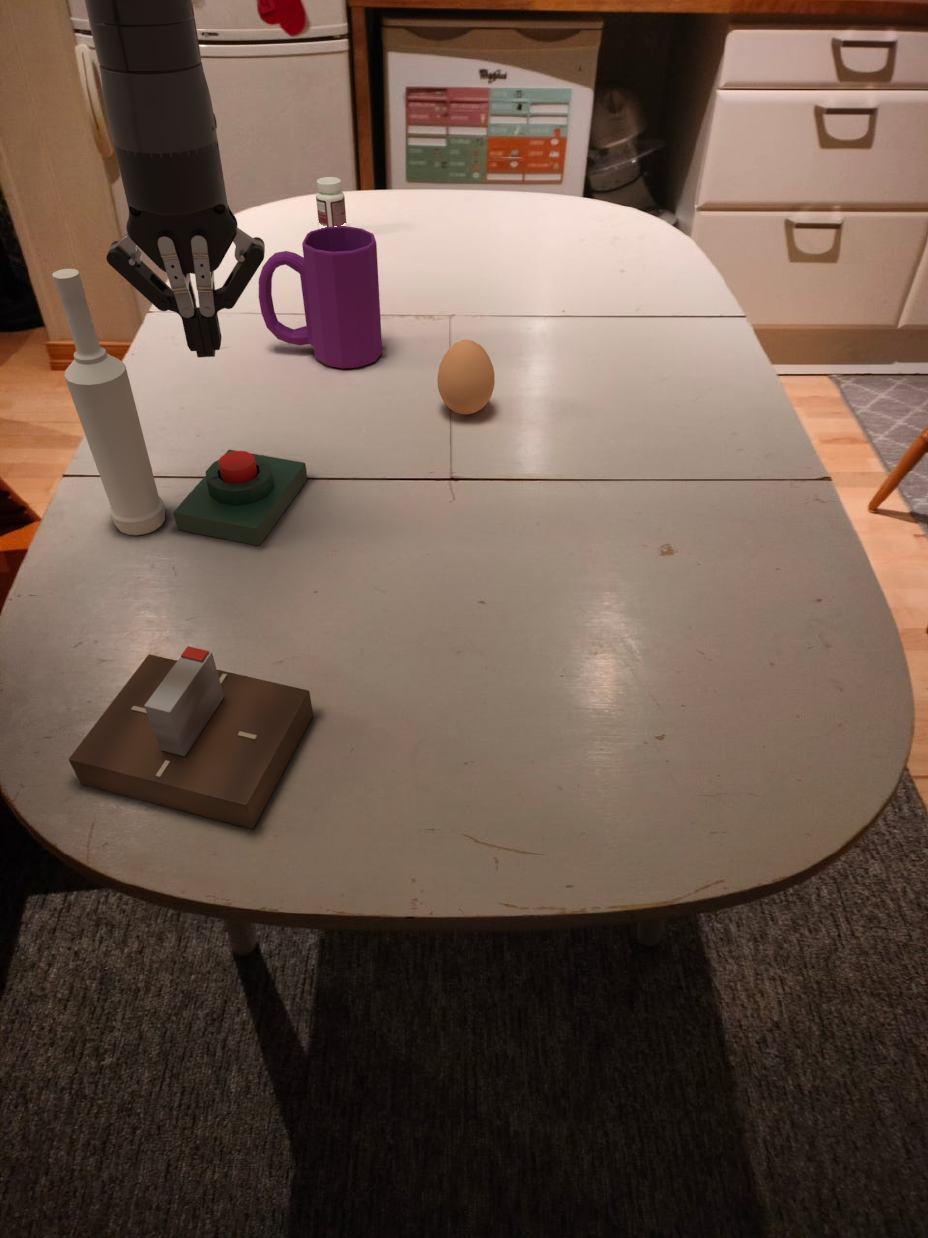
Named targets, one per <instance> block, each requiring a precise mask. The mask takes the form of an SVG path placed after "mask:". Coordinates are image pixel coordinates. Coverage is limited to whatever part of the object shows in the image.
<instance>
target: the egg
mask: <svg viewBox="0 0 928 1238" xmlns="http://www.w3.org/2000/svg"><path fill="white" fill-rule="evenodd" d="M436 381H437V390H438V393H439V395H440V397H441V400H442V401H443V403H444V404H445V406H447V408H449V410H452V411H453V412H455V413H457V414H460V415H472V414H474V413H477V412H478V411H480V410H482V409H483V408H484V407H485V406H486V405H487V404H488V402H489V401H490V399H491V398H492V396H493V393H494V389H495V369H494V365H493V363H492V360H491V358H490V355H489V354H488V353H487V351H486V350H485V348H484V347H483V346H482V345H481V344H479V343H477V342H475V341H474V340H470V339H463V340H459V341H457V342H455V343H454V344H452V345H451V346H450V347H449V348H448V349H447V351H446V352H445V354H444V355H443V356H442V359H441V362H440V363H439V366H438V371H437V380H436Z"/></svg>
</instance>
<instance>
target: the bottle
mask: <svg viewBox="0 0 928 1238" xmlns="http://www.w3.org/2000/svg"><path fill="white" fill-rule="evenodd" d="M52 279H53V283H54V285H55V288H56V289H55V290H56V292H57V296H58V298H59V300H60V302H61V305H62V308H63V312H64V316H65V318H66V321H67V325H68V329H69V331H70V334H71V339H72V341H73V344H74V347H75V351H74V352H73V358H74V359H73V360H72V362H71V363H70V364H69V365H68V367H67V368H66V369H65V370H64V376H63V377H64V379H65V383H66V386H67V388H68V391H69V394H70V397H71V400H72V402H73V405H74V407H75V411H76V414H77V416H78V419H79V423H80V424H81V427H82V430H83V432H84V436H85V437H86V438H85V439H86V441H87V444H88V446H89V450H90V452H91V455H92V458H93V461H94V464H95V466H96V469H97V472H98V475H99V477H100V480H101V483H102V486H103V489H104V491H105V495H106V497H107V499H108V503H109V506H110V508H109V514H110V517H111V520H112V522H113V523H114V525H115V526H116V527H117V529H118V530H119V532H121V533H123V534H125V535H130V536H140V535H141V536H142V535H147V534H150V533H153V532H155V531H156V530H157V529H159V528H160V527H162V525H163V524H164V522H165V521H166V510H165V503H164V499H162V498H161V496H160V495H159V492H158V488H157V484H156V480H155V476H154V472H153V469H152V464H151V460H150V456H149V453H148V448H147V444H146V441H145V436H144V433H143V429H142V424H141V421H140V417H139V413H138V410H137V405H136V402H135V401H136V400H135V397H134V394H133V389H132V386H131V381H130V377H129V374H128V370H127V367H126V366H127V365H126V364H125V362H123V361H122V360H120V359H119V358H117V357H115V356H113V355H111V354H109V353H107V350H106V349H105V348H104V347H103V346H101V344H100V340H99V338H98V334H97V331H96V328H95V324H94V321H93V318H92V314H91V310H90V307H89V303H88V301H87V297H86V291H85V287H84V285H83V281H82V278H81V274H80V271H79V270H77V269H75V268H63V269H59V270H55V271H54V272H53V273H52Z"/></svg>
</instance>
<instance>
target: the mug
mask: <svg viewBox="0 0 928 1238" xmlns="http://www.w3.org/2000/svg"><path fill="white" fill-rule="evenodd" d="M377 245H378V244H377V240H376V237H375V234H374V233H373V232H370V231H368V230H366V229H364V228H361V227H354V226H348V225H347V226H337V227H325V228H321V229H319V228H318V229H314V230H311V231H309V232H308V233H307V234H306V235H305V237H304V239H303V241H302V243H301V246H302V255H303V256H302V255H300V254H299V253H296V252H294V251H289V250H284V251H278V252H274V253H273V254H272V255H271V256H270V257H269V258H268V259H267V260H266V261H265V263H264V264H263V265H262V268H261V271H260V274H259V277H258V302H259V309H260V314H261V316H262V318H263V321H264V324H265V326H266V328H267V329H268V330H269V332H270V333H271V334H272V335H273V336H274V337H275V338H276V339H277V340H279V341H281V342H284V343H287V344H289V345H294V346H295V345H296V346H306V345H310V346H311V347H312V348H313V351H314V352H313V353H314V354H313V355H314V357H315V359H316V360H318V361H319V362H321V363H322V364H324V365H325V366H327V367H332V368H338V369H342V370H343V369H356V368H362V367H364V366H367V365H370V364H372V363H374V362H376V361H377V359H378V358H379V357H380V356H381V355H382V353H383V341H382V339H383V338H382V322H381V303H380V301H381V300H380V283H379V281H380V280H379V265H378V264H379V263H378V248H377V247H378V246H377ZM280 266H281V267H282V266H287V267H289V268H291V270H293V271H295V272H296V273H298V274H299V277H300V285H301V286H300V287H301V294H302V301H303V302H302V303H303V309H304V317H305V323H306V324H305V325H304V326H301V327H297V328H291V327H288V326H286V325H285V324H283V323H282V322H281V321H279V319H278V317H277V315H276V311H275V307H274V301H273V293H272V291H273V287H272V285H273V276H274V273H275V271H276V269H278V268H279V267H280Z"/></svg>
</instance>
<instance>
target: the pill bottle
mask: <svg viewBox="0 0 928 1238" xmlns="http://www.w3.org/2000/svg"><path fill="white" fill-rule="evenodd" d="M342 186H343V185H342V179H340V178H339V177H335V176H325V177H320V178H318V179H317V180H316V188H317V193H316V194H315V201H316V210H317V221H319V222H318V224H319V223H320V224H321V225H323V226H327V227H334V226H341V225H343V224H344V223H347V212H346V199H345V197H346V196H345V193H344V192H343V191H342V190H343V189H342V188H343V187H342Z"/></svg>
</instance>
